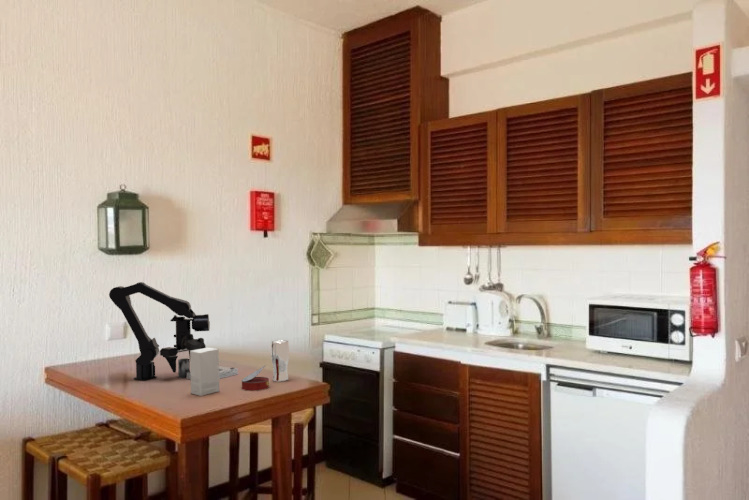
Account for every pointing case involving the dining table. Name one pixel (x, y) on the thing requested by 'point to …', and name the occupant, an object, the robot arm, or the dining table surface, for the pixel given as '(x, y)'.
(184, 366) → the cylinder
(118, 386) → the dining table surface
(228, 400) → the dining table surface
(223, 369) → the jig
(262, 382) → the canned food
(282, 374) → the white tall container
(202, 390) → the skincare box
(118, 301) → the robot arm
